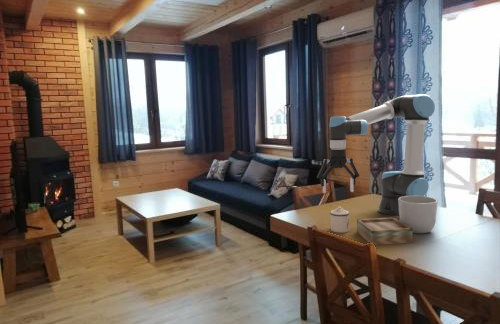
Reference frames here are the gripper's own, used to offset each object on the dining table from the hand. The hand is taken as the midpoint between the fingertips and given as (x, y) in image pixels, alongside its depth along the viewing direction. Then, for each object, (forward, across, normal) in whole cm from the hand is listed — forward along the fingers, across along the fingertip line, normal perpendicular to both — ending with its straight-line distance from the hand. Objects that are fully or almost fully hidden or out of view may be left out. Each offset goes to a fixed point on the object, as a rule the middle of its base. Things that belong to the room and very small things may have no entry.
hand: (338, 192), depth 183 cm
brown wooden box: (+18, -16, +15) cm, 29 cm away
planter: (+19, -35, +9) cm, 41 cm away
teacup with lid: (+19, 0, 0) cm, 19 cm away
